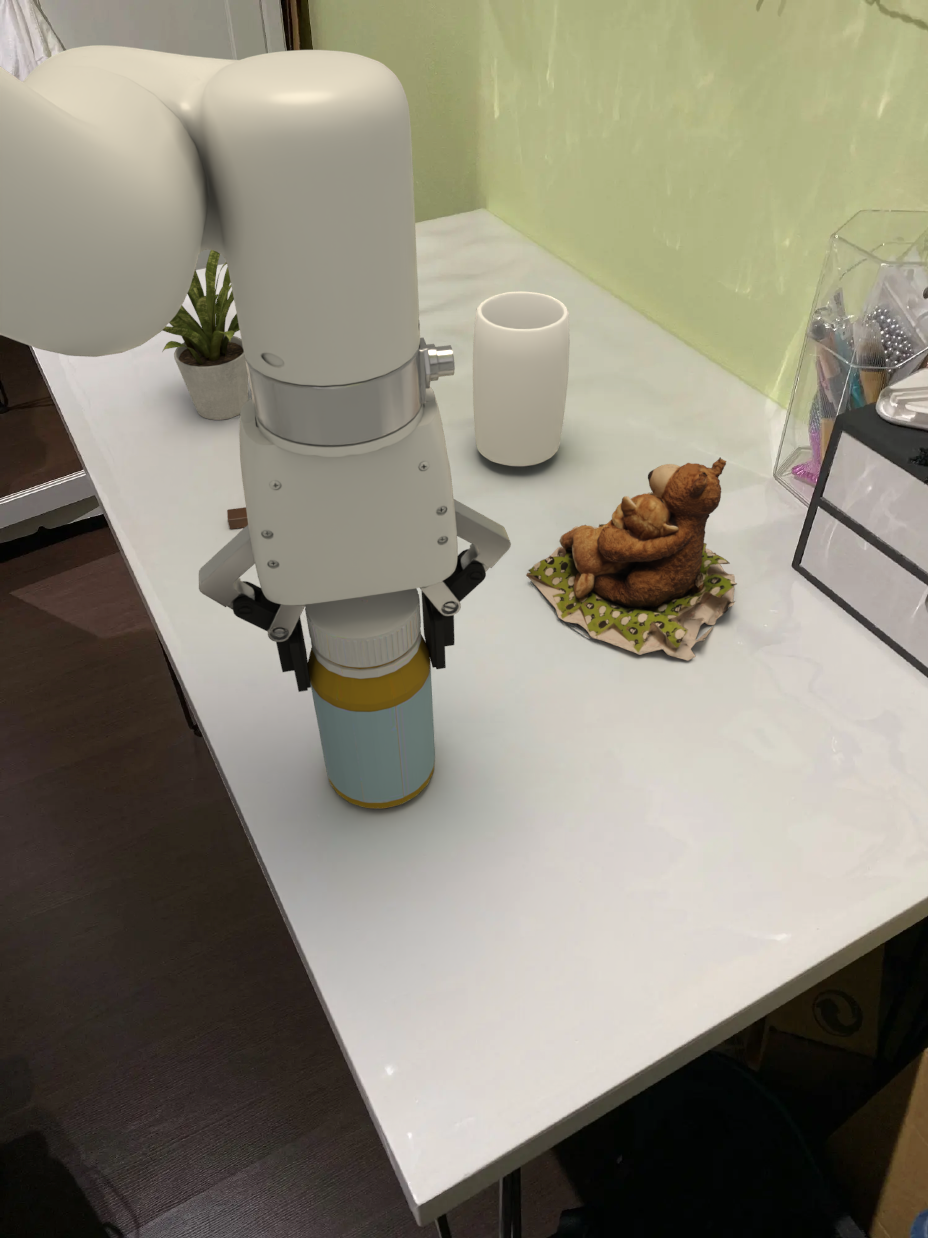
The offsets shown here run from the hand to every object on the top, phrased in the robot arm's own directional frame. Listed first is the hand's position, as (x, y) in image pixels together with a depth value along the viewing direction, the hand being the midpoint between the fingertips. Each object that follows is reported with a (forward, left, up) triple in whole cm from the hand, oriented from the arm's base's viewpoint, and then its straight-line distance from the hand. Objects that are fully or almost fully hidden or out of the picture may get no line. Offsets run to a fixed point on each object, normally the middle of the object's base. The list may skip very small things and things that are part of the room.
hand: (369, 661), depth 52 cm
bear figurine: (+22, +13, -10) cm, 28 cm away
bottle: (0, 0, -10) cm, 10 cm away
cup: (+18, +34, -10) cm, 40 cm away
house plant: (-8, +50, -10) cm, 52 cm away
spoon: (0, +29, -10) cm, 31 cm away
